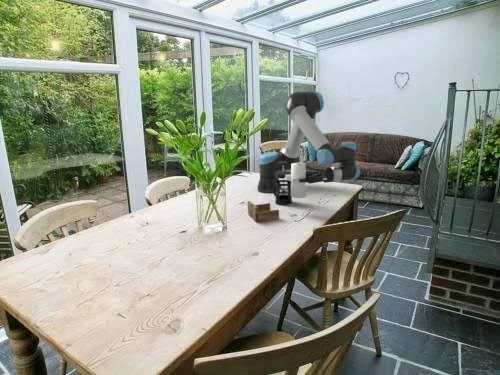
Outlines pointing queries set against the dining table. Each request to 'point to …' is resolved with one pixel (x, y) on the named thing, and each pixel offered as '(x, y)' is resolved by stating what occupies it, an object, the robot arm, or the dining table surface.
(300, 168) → the roll
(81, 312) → the dining table surface
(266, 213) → the holder
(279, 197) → the french press
